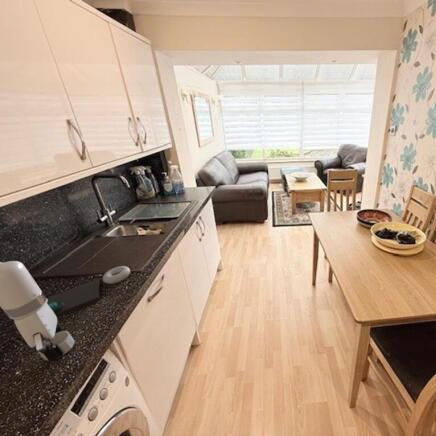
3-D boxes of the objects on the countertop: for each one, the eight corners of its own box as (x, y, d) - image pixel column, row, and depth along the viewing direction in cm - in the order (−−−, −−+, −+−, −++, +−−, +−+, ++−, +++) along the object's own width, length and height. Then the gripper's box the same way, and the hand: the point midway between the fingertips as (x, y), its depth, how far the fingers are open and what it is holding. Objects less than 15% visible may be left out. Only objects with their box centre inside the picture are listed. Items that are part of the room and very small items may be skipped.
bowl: (38, 359, 70) (30, 350, 68) (63, 338, 76) (57, 329, 75) (56, 363, 68) (49, 354, 67) (81, 341, 75) (75, 332, 73)
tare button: (47, 311, 84) (45, 308, 83) (48, 307, 86) (47, 304, 85) (57, 307, 85) (55, 305, 85) (58, 303, 87) (56, 301, 87)
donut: (105, 277, 105) (103, 289, 97) (101, 270, 103) (100, 282, 95) (131, 268, 109) (131, 279, 102) (128, 261, 108) (128, 272, 100)
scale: (44, 322, 83) (40, 316, 82) (50, 300, 93) (46, 294, 92) (100, 300, 91) (96, 294, 90) (99, 281, 101) (96, 276, 100)
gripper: (14, 293, 69) (46, 335, 76) (-4, 333, 56) (36, 378, 64) (49, 281, 73) (76, 322, 80) (39, 316, 60) (72, 361, 67)
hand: (58, 347), depth 72 cm, fingers closed on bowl, 7 cm apart
